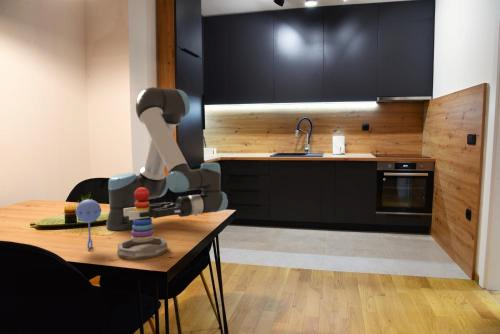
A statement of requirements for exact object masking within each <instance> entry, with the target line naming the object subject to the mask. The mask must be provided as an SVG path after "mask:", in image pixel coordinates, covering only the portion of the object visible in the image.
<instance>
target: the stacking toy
mask: <svg viewBox="0 0 500 334" xmlns="http://www.w3.org/2000/svg"><path fill="white" fill-rule="evenodd" d="M134 196H135V198H136V200H138V201H136V202H135V206H136V207H135V208H134V211H139V210H146V209H148V210H149V207H148V206H149V204H151V203H150V201H149V199H148V198H149V191H148V189H146V188H144V187H140V188H138V189H137V190H136V191H135V193H134ZM152 222H153V218H151V217H148V218H141V219H134V220H133V223H134V224H133V226H132V228H133V229H131V231H130V234H131V237H130V239H131V240H132V241H133V242H138V243H142V242H148V241H151V240H153V239H154V237H155V234H154V229H153V228H154V224H153V223H152Z"/></svg>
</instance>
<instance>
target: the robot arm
mask: <svg viewBox="0 0 500 334" xmlns="http://www.w3.org/2000/svg"><path fill="white" fill-rule="evenodd" d="M135 102H136V103H135V111H136V112H135V113H136V115H137V117H138V120H139V122H140V123H141V124H143V125H145V128H146V130H147V132H148V134H149V136H150V138H151V140H150V144H149V147H148V148H149V149H148V153H147V157H146V162H145V165H144V166H142V168H140V171H139V174H138V175H137V174H136V173H134V172H126V173H120V174H115V175H113V176H111V177H110V178H109V179H108V187H107V188H108V198H109V199H108V201H109V212H108V213H109V214H107V220H106V222H105V223H106V224H105V225H106V226H105V227H106V229H107V230H109V231H129V230H133V228H132V226H133V224H134V223H133V220H134V219H141V218H148V217H150V218H151V219H158V218H164V217H170V216H179V217H180V218H182V217H183V218H185V217H189V216H195V217H197V216H198V215H203V214H208V213H217V212H222V211H224V210H226V209H227V208H228V204H229V201H228V200H229V199H228V196H227V194H226V193H225V192H224V191H222V189H221V188H222V187H221V183H222V182H221V179H222V177H221V175H222V174H221V173H222V172H221V165H220V163H218V162H202V163H201V164H200V168H197V169H196V168H195V169H191V168H190V166H189V164H188V162H187V161H186V159H185V157H184V155H183V153H182V151H181V149H180V147H179V144H178V143H177V142H176V140H175V137H174V133H175V129H176V126H178V125H180V124H181V121H182V118H184V117H187V116H188V115H189V113H190V108H191V103H190V99H189V97H188V95H187V93H186V92H185V91H184V90H181V89H176V88H163V87H153V86H152V87H147V88H145V89H143V90H141V92H140V93H139V94H138V96H137V98H136V101H135ZM165 167H166V169H167V172H168V174H166V172H165V171H164V170H165ZM140 187H144V188H146V189H148V191H149V198H148V199H147V200H152V199H154V200H155V199H158V198H161V197H163V196H165V195H166V194H167V191H168V189H169V191H171V192H173V193H186V192H188V191H189V192H190V191H195V190H201V193H200V194H191V195H183V196H178V197H177V198H176V201H175V202H173V201H169V202H168V201H163V202H157V203H150V204H149V206H148V207H149V210H148V209H146V210H139V211H134V208H135V207H136V206H135V202H136V201H138V200H136V198H135V196H134V193H135V191H136V190H137V189H138V188H140Z"/></svg>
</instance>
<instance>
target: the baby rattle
mask: <svg viewBox="0 0 500 334" xmlns="http://www.w3.org/2000/svg"><path fill="white" fill-rule="evenodd" d="M101 214H102V207H101V205H100V204H99V203H98V201H96V200H94V199H91V198H90V199H84V200H82V201H80V202H79V203H78V204H77V205H76V208H75V215H76V217H77V219H78V220H79V221H81V222H83V223H87V224H88V225H87V226H88V230H87V231H88V239H87V245H86V247H87V250H90V249H92V248H93V240H92V238H91V237H92V236H91V223H93V222H95V221H96V220H98V219H99V217H100V216H101Z"/></svg>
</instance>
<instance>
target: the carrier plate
mask: <svg viewBox="0 0 500 334" xmlns="http://www.w3.org/2000/svg"><path fill="white" fill-rule="evenodd" d="M116 252H117V257H118V256H119V257H118V258H120V257H121V258H120V259H122V258H124V259H123V260H127V259H132V260H131V261H141V259H143V260H148V258H150V259H153V257H154V258H158V257H160V256H162V254H163V255H164V254H166V253H167V252H168V241H166V239H165V238H164V237H159V236H154V239H153V240H151V241H148V242H142V243H138V242H133V241H132V240H131V238H128V239H126V240H124V241H122V242H119V243H117V251H116ZM157 256H158V257H157Z"/></svg>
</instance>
